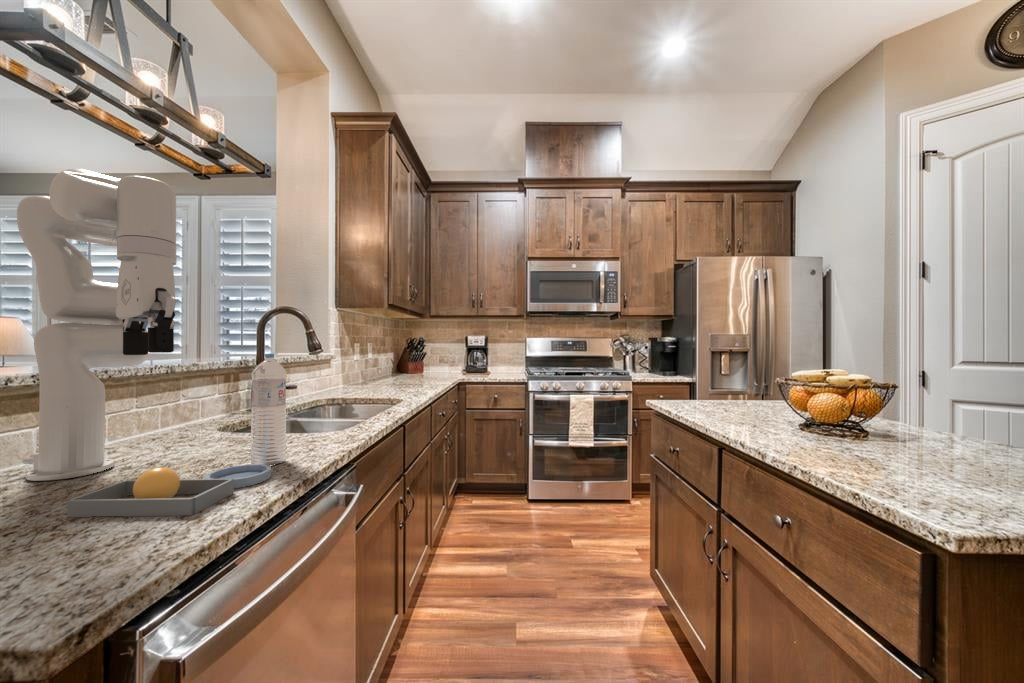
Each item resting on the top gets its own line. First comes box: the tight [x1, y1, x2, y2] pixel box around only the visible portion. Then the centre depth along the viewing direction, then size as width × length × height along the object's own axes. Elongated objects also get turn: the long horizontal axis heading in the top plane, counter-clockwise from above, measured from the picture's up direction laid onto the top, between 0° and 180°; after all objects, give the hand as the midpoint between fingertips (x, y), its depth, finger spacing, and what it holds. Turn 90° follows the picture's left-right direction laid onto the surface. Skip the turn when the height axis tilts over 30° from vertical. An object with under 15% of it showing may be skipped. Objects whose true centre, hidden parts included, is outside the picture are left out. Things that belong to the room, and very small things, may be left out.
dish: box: [204, 463, 272, 490], centre depth 80 cm, size 11×11×2 cm
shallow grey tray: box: [66, 478, 234, 518], centre depth 68 cm, size 19×10×2 cm, turn 92°
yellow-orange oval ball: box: [132, 466, 180, 499], centre depth 68 cm, size 6×6×6 cm
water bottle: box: [250, 353, 287, 466], centre depth 92 cm, size 7×7×25 cm
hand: (147, 353), depth 68 cm, fingers open, 9 cm apart
